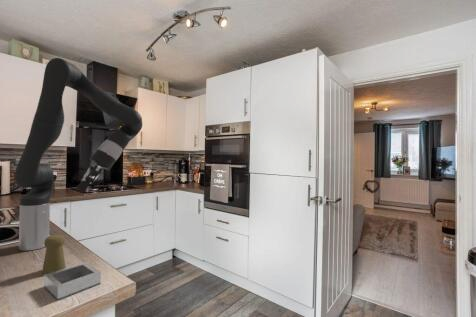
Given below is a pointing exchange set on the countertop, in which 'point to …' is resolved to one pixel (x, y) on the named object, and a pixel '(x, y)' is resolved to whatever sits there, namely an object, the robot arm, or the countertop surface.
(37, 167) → the robot arm
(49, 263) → the cork
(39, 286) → the countertop surface
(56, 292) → the grey shallow square box
